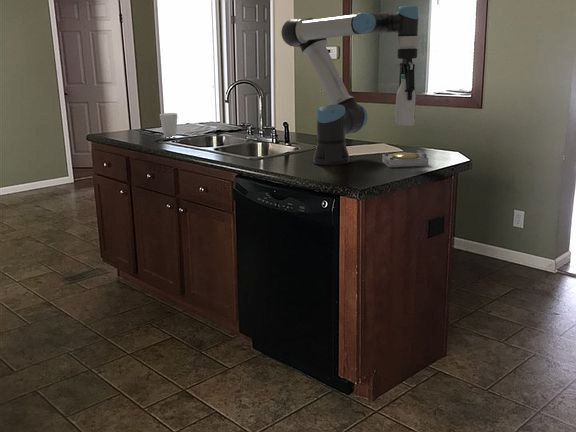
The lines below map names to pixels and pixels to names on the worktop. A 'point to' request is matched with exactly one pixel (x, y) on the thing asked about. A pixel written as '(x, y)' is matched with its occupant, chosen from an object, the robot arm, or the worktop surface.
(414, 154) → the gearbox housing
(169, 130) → the foam cup
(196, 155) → the worktop surface
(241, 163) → the worktop surface
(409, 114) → the milk bottle
